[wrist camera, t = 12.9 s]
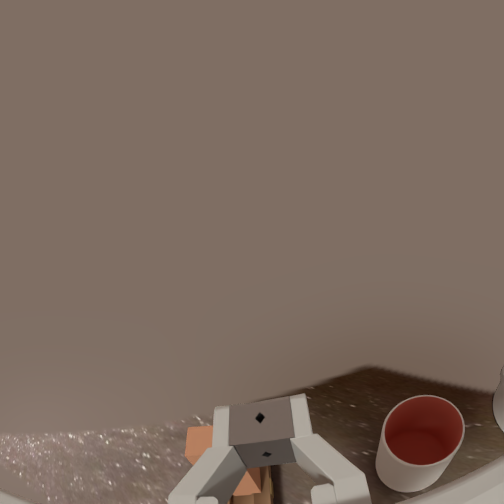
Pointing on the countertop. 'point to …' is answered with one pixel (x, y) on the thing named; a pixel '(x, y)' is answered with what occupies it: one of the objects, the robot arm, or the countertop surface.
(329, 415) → the countertop surface
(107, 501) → the countertop surface
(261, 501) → the beam
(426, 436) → the cup
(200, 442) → the plate
